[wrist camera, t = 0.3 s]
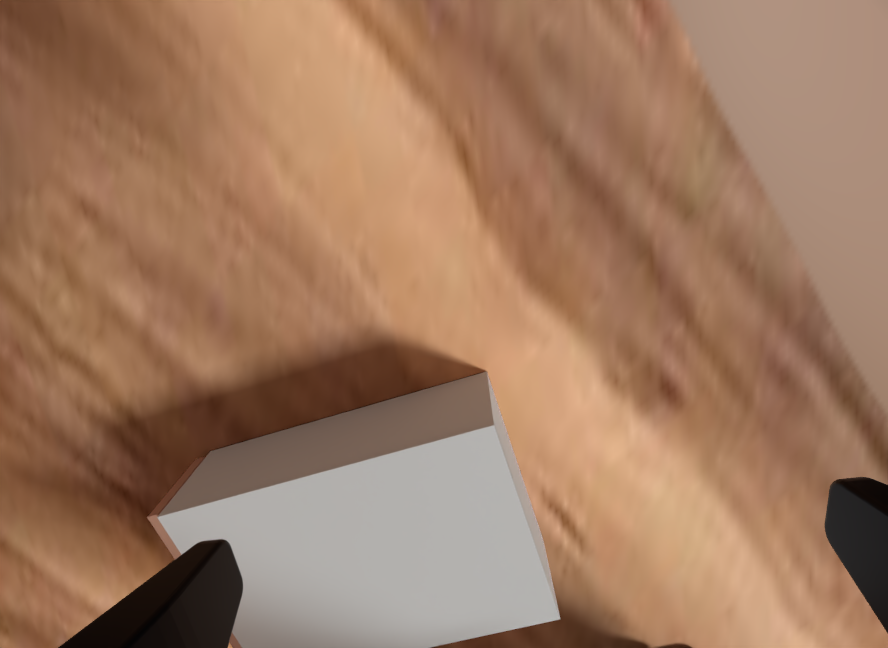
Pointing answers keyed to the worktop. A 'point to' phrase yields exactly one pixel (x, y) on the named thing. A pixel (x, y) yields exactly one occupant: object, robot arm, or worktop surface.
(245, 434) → the worktop surface
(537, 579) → the sleeve
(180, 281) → the worktop surface
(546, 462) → the worktop surface
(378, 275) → the worktop surface
